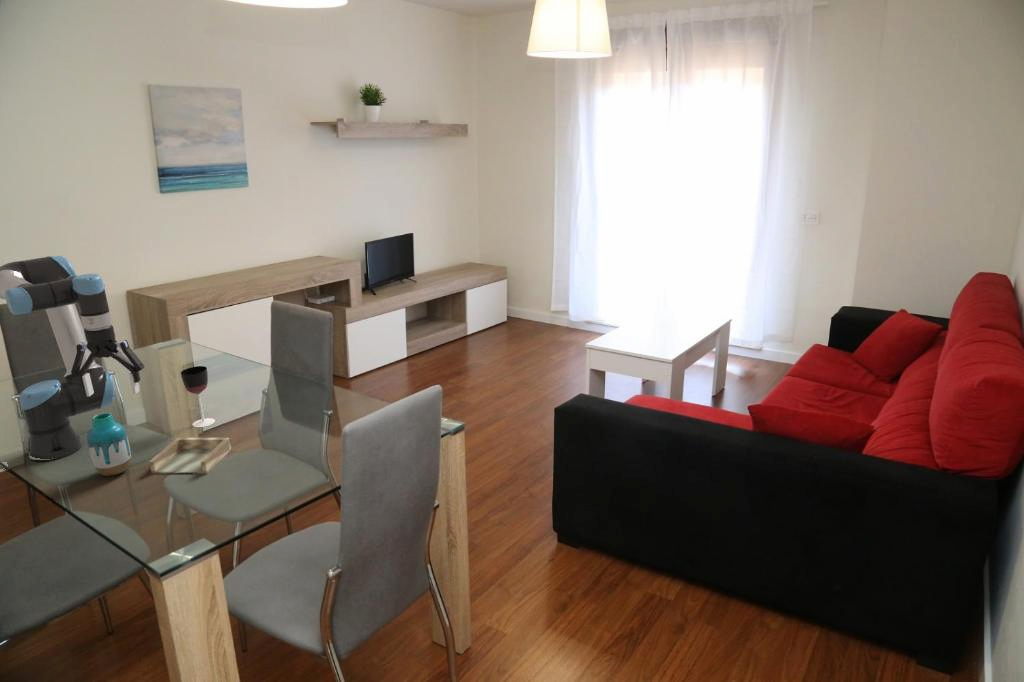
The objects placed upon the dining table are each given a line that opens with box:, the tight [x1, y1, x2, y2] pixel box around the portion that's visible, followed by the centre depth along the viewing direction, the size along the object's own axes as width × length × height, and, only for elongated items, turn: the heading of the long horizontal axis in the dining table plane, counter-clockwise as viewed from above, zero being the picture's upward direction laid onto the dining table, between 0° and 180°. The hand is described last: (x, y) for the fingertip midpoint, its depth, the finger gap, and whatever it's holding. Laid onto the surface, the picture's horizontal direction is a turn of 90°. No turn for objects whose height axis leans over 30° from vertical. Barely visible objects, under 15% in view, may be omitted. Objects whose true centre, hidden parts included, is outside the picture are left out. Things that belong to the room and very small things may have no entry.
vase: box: [87, 412, 132, 477], centre depth 213 cm, size 11×11×19 cm
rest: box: [148, 437, 232, 475], centre depth 221 cm, size 18×16×4 cm
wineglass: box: [180, 365, 216, 428], centre depth 246 cm, size 8×9×20 cm
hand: (113, 393), depth 212 cm, fingers open, 13 cm apart
